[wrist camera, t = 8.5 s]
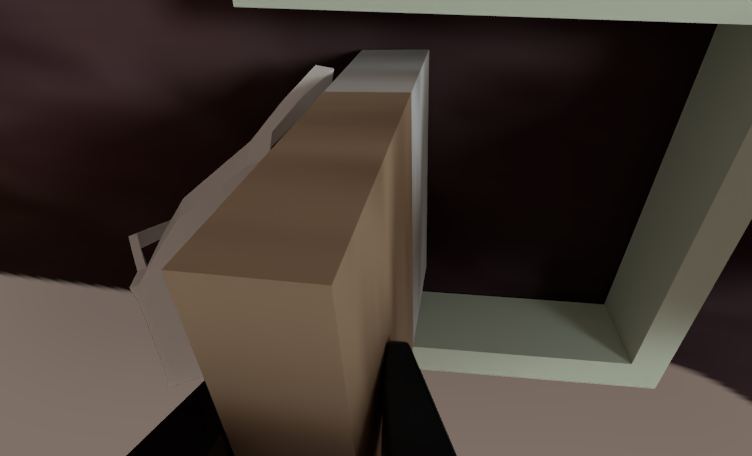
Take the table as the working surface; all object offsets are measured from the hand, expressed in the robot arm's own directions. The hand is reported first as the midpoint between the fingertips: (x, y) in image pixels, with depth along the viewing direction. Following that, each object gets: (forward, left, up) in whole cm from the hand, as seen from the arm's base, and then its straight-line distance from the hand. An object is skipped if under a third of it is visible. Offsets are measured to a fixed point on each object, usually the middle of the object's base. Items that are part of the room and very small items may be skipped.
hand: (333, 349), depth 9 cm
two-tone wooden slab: (0, +1, -8) cm, 8 cm away
